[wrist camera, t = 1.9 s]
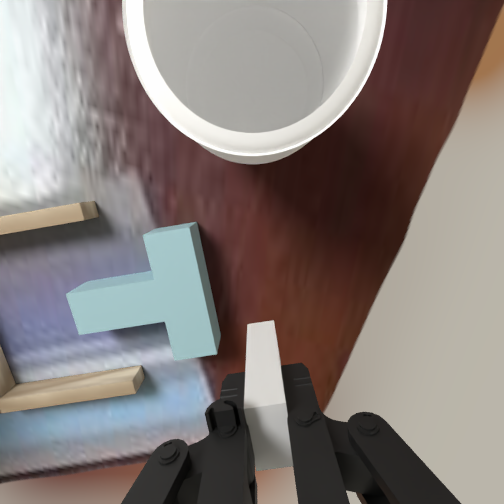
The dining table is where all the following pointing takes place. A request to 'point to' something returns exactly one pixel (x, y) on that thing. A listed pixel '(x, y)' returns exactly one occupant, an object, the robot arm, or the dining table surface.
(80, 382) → the dock
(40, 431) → the dining table surface
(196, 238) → the t block
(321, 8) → the jar
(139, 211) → the dining table surface
